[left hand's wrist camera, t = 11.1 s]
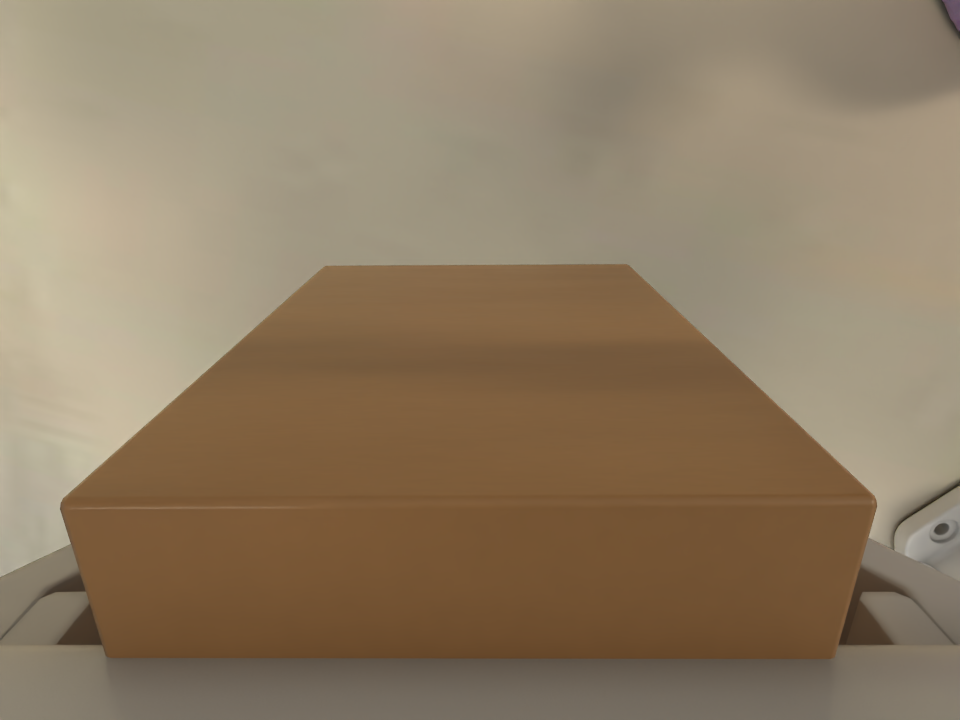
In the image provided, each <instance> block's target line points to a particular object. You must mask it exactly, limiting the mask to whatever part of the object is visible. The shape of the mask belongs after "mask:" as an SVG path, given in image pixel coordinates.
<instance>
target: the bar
mask: <svg viewBox="0 0 960 720" xmlns="http://www.w3.org/2000/svg"><path fill="white" fill-rule="evenodd" d="M876 508H877V502H876V499H875V496H874V495H873V494H872V493H871V492H870V491H869V490H868V489H867V488H866V487H864V486H863V485H862V484H861V483H860V482H859V481H858V480H857V479H856V478H855V477H854V476H853V475H852V474H851V473H850V472H849V471H847V470H846V469H845V468H844V467H843V466H842V465H841V464H840V463H839V462H838V461H837V460H836V459H835V458H834V457H833V456H831V455H830V454H829V453H828V452H827V451H826V450H825V449H824V448H823V447H822V446H821V445H820V444H819V443H818V442H817V441H815V440H814V439H813V438H812V437H811V436H810V435H809V434H808V433H807V432H806V431H805V430H804V429H803V428H802V427H801V426H800V425H798V424H797V423H796V422H795V421H794V420H793V419H792V418H791V417H790V416H789V415H788V414H787V413H786V412H785V411H784V410H782V409H781V408H780V407H779V406H778V405H777V404H776V403H775V402H774V401H773V400H772V399H771V398H770V397H769V396H768V395H767V394H765V393H764V392H763V391H762V390H761V389H760V388H759V387H758V386H757V385H756V384H755V383H754V382H753V381H752V380H751V379H749V378H748V377H747V376H746V375H745V374H744V373H743V372H742V371H741V370H740V369H739V368H738V367H737V366H736V365H735V364H733V363H732V362H731V361H730V360H729V359H728V358H727V357H726V356H725V355H724V354H723V353H722V352H721V351H720V350H719V349H718V348H716V347H715V346H714V345H713V344H712V343H711V342H710V341H709V340H708V339H707V338H706V337H705V336H704V335H703V334H702V333H700V332H699V331H698V330H697V329H696V328H695V327H694V326H693V325H692V324H691V323H690V322H689V321H688V320H687V319H686V318H684V317H683V316H682V315H681V314H680V313H679V312H678V311H677V310H676V309H675V308H674V307H673V306H672V305H671V304H670V303H669V302H667V301H666V300H665V299H664V298H663V297H662V296H661V295H660V294H659V293H658V292H657V291H656V290H655V289H654V288H653V287H651V286H650V285H649V284H648V283H647V282H646V281H645V280H644V279H643V278H642V277H641V276H640V275H639V274H638V273H637V272H636V271H634V270H633V269H632V268H631V267H630V266H629V265H627V264H591V265H397V266H325V267H323V268H322V269H321V270H320V271H319V272H317V273H316V274H315V275H314V276H313V277H312V278H311V279H310V280H308V281H307V282H306V283H305V284H304V285H303V286H302V287H301V288H299V289H298V290H297V291H296V292H295V293H294V294H293V295H292V296H290V297H289V298H288V299H287V300H286V301H285V302H284V303H283V304H281V305H280V306H279V307H278V308H277V309H276V310H275V311H274V312H272V313H271V314H270V315H269V316H268V317H267V318H266V319H265V320H263V321H262V322H261V323H260V324H259V325H258V326H257V327H256V328H254V329H253V330H252V331H251V332H250V333H249V334H248V335H247V336H245V337H244V338H243V339H242V340H241V341H240V342H239V343H238V344H236V345H235V346H234V347H233V348H232V349H231V350H230V351H229V352H227V353H226V354H225V355H224V356H223V357H222V358H221V359H220V360H218V361H217V362H216V363H215V364H214V365H213V366H212V367H211V368H209V369H208V370H207V371H206V372H205V373H204V374H203V375H202V376H200V377H199V378H198V379H197V380H196V381H195V382H194V383H193V384H191V385H190V386H189V387H188V388H187V389H186V390H185V391H184V392H182V393H181V394H180V395H179V396H178V397H177V398H176V399H175V400H173V401H172V402H171V403H170V404H169V405H168V406H167V407H166V408H164V409H163V410H162V411H161V412H160V413H159V414H158V415H157V416H155V417H154V418H153V419H152V420H151V421H150V422H149V423H148V424H146V425H145V426H144V427H143V428H142V429H141V430H140V431H139V432H137V433H136V434H135V435H134V436H133V437H132V438H131V439H130V440H128V441H127V442H126V443H125V444H124V445H123V446H122V447H121V448H119V449H118V450H117V451H116V452H115V453H114V454H113V455H112V456H110V457H109V458H108V459H107V460H106V461H105V462H104V463H103V464H101V465H100V466H99V467H98V468H97V469H96V470H95V471H94V472H92V473H91V474H90V475H89V476H88V477H87V478H86V479H85V480H83V481H82V482H81V483H80V484H79V485H78V486H77V487H76V488H74V489H73V490H72V491H71V492H70V493H69V494H68V495H67V496H65V497H64V498H63V500H62V502H61V507H60V510H61V513H62V516H63V520H64V523H65V526H66V529H67V533H68V536H69V539H70V542H71V545H72V549H73V552H74V555H75V558H76V562H77V565H78V568H79V571H80V575H81V578H82V581H83V584H84V587H85V591H86V594H87V597H88V600H89V604H90V607H91V610H92V613H93V617H94V620H95V623H96V626H97V629H98V633H99V636H100V639H101V642H102V646H103V649H104V652H105V655H106V656H107V657H109V658H435V659H831V658H834V657H835V655H836V651H837V648H838V644H839V641H840V637H841V633H842V630H843V626H844V623H845V619H846V616H847V612H848V608H849V605H850V601H851V598H852V594H853V590H854V587H855V583H856V580H857V576H858V573H859V569H860V565H861V562H862V558H863V555H864V551H865V547H866V544H867V540H868V537H869V533H870V529H871V526H872V522H873V519H874V515H875V512H876Z"/></svg>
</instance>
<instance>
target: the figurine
mask: <svg viewBox="0 0 960 720" xmlns="http://www.w3.org/2000/svg"><path fill="white" fill-rule="evenodd" d="M942 1H943V2H944V4H945V7H946V9H947V12H948V14H949V17H950V19H951V20H952V21H953V22H954V24H955V26H956V28H957V30H958V31H960V0H942Z"/></svg>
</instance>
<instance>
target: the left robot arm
mask: <svg viewBox="0 0 960 720" xmlns="http://www.w3.org/2000/svg"><path fill="white" fill-rule="evenodd" d="M0 720H960V485H959V486H958V487H956V488H955V489H953V490H951V491H950V492H948V493H947V494H945V495H944V496H942V497H940V498H939V499H937V500H936V501H934V502H933V503H931V504H929V505H928V506H926V507H925V508H923V509H921V510H920V511H918V512H917V513H915V514H914V515H912V516H910V517H909V518H907V519H906V520H905V521H903V522H902V523H901V524H900V525H899V526H898V528H897V530H896V532H895V535H894V550H893V549H891V548H889V547H886V546H884V545H882V544H880V543H878V542H876V541H874V540H872V539H870V538H868V540H867V544H866V547H865V551H864V555H863V558H862V562H861V565H860V569H859V573H858V576H857V580H856V583H855V587H854V590H853V594H852V598H851V601H850V605H849V608H848V612H847V616H846V619H845V623H844V626H843V630H842V633H841V637H840V641H839V644H838V648H837V651H836V655H835V657H834V658H831V659H435V658H109V657H107V656H106V655H105V652H104V649H103V646H102V642H101V639H100V636H99V633H98V629H97V626H96V623H95V620H94V617H93V613H92V610H91V607H90V604H89V600H88V597H87V594H86V591H85V587H84V584H83V581H82V578H81V575H80V571H79V568H78V565H77V562H76V558H75V555H74V552H73V549H72V545H71V544H70V545H68V546H66V547H64V548H62V549H59V550H57V551H55V552H53V553H51V554H49V555H47V556H45V557H42V558H40V559H38V560H36V561H34V562H32V563H30V564H28V565H25V566H23V567H21V568H19V569H17V570H15V571H13V572H11V573H8V574H6V575H4V576H2V577H0Z"/></svg>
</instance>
